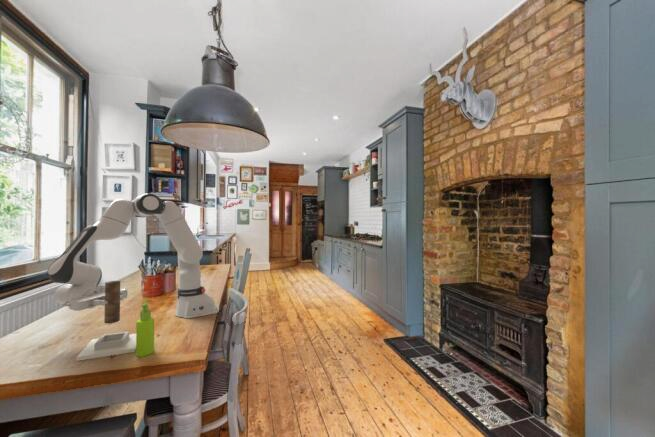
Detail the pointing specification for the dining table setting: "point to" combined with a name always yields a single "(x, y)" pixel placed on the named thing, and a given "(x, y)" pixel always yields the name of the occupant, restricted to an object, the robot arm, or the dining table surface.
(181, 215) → the robot arm
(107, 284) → the walnut leg
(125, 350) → the stool seat
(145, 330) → the soap dispenser
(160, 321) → the dining table surface
